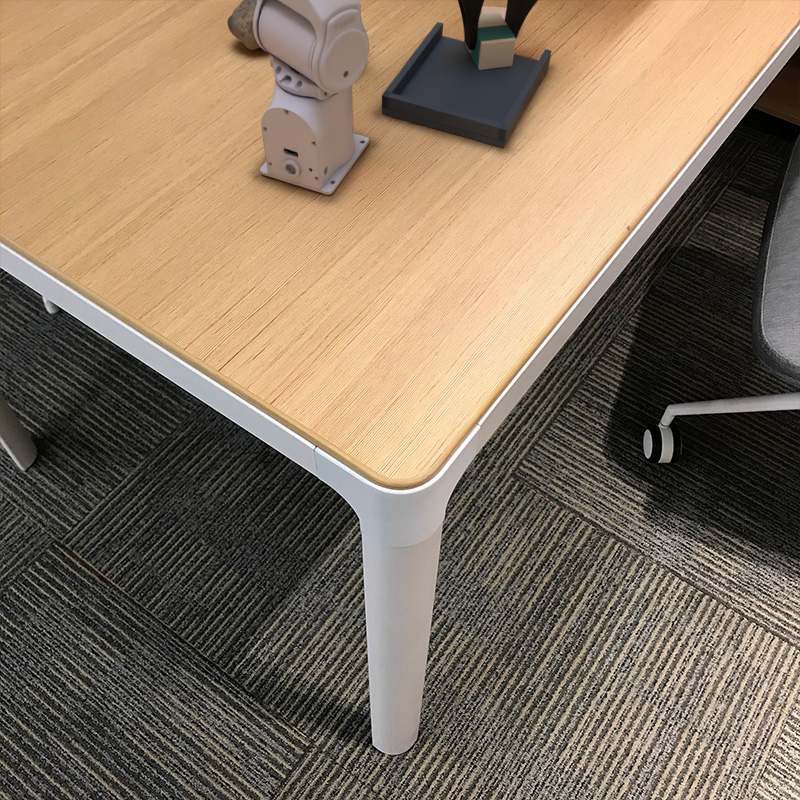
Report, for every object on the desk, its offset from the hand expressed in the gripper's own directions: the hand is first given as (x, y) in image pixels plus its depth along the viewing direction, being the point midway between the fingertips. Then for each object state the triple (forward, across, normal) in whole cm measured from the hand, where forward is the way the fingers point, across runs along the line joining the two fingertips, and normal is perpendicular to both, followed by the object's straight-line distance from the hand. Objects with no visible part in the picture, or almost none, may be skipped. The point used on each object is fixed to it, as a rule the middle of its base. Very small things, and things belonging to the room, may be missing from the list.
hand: (488, 43), depth 88 cm
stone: (+2, -23, +9) cm, 25 cm away
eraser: (+1, 0, 0) cm, 1 cm away
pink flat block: (+2, +4, +7) cm, 8 cm away
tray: (+2, -4, -5) cm, 7 cm away
